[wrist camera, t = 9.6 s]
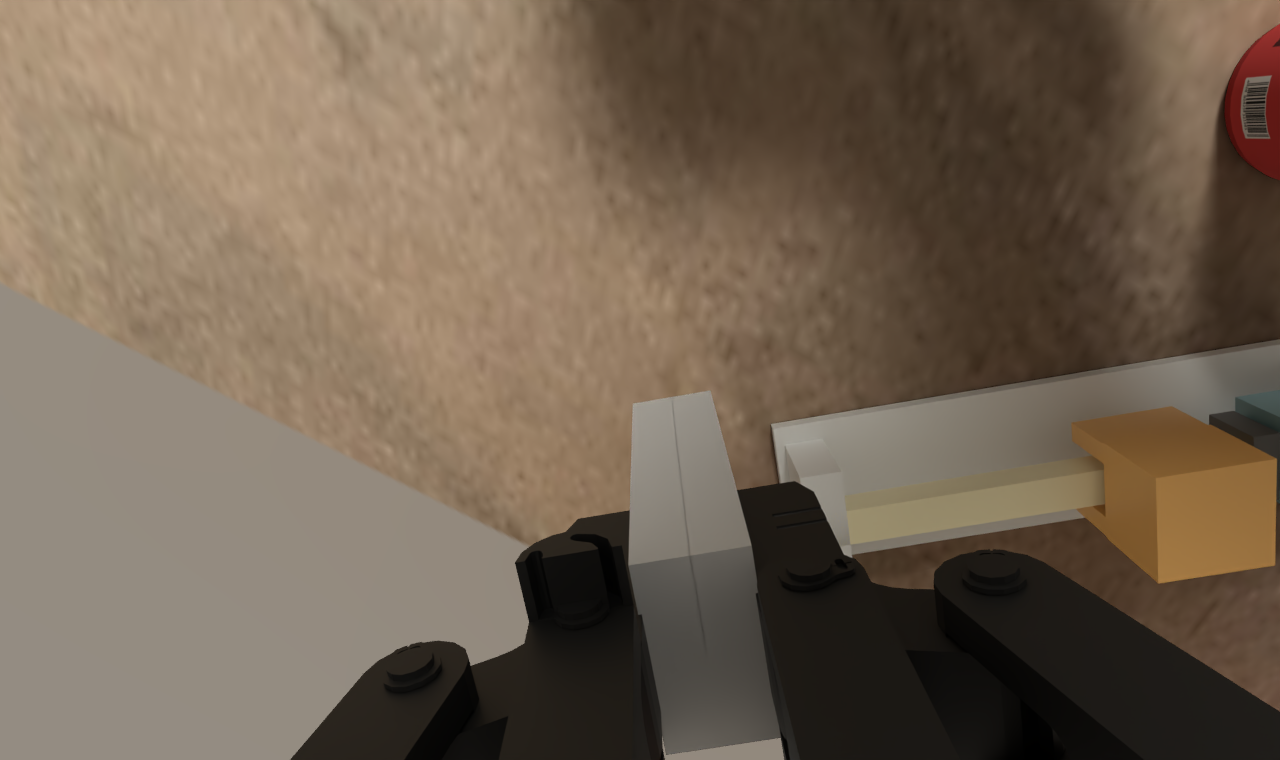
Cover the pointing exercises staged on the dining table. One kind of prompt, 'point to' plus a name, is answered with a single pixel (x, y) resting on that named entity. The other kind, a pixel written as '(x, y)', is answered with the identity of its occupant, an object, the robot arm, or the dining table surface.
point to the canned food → (1257, 105)
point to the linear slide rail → (1008, 446)
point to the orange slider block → (1181, 494)
